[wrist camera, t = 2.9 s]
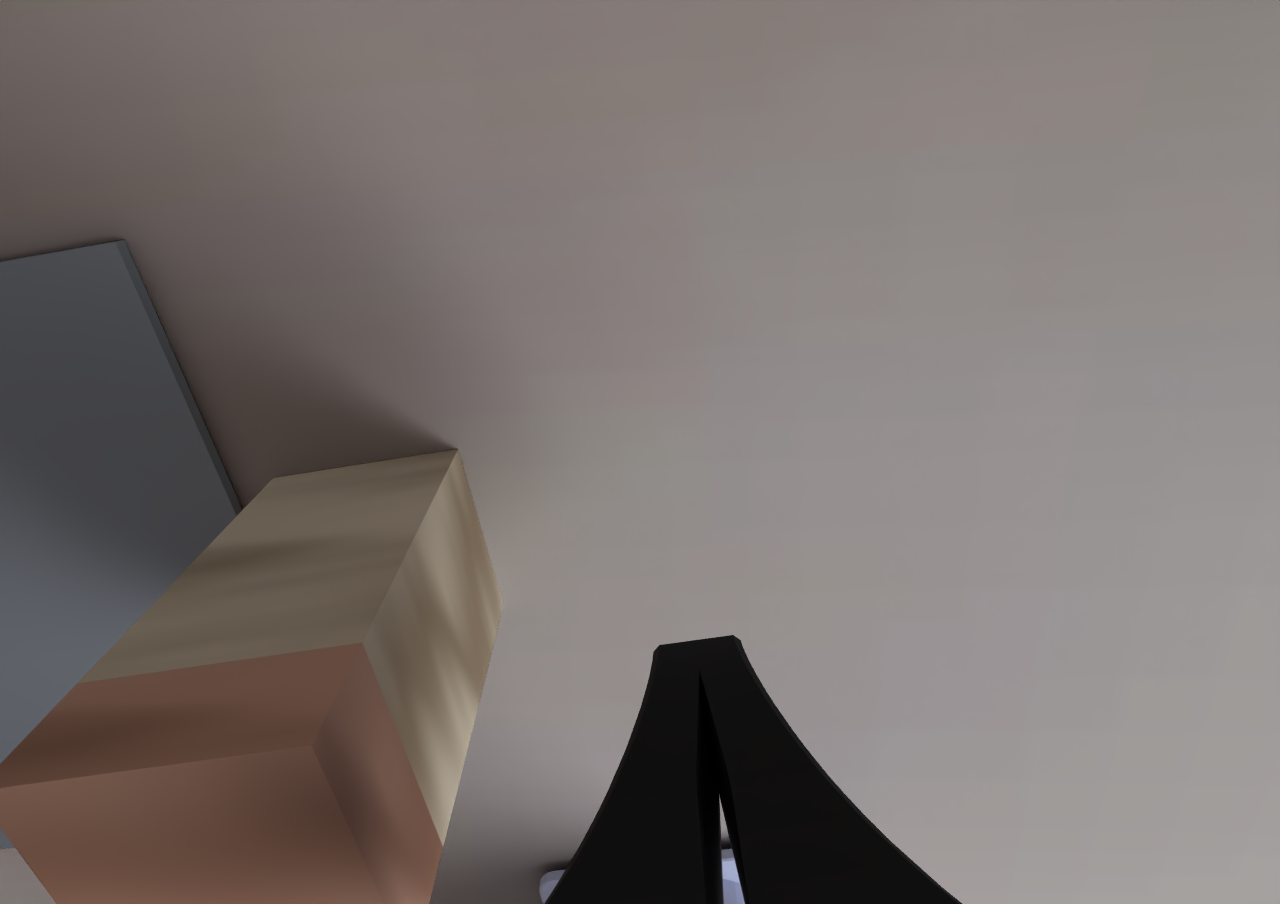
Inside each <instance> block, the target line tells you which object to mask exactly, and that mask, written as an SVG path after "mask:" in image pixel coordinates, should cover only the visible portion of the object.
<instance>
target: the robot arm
mask: <svg viewBox="0 0 1280 904" xmlns="http://www.w3.org/2000/svg"><path fill="white" fill-rule="evenodd" d="M719 795H720V800H721V804H722V808H723V812H724V817H725V821H726V825H727V830H728V834H729V838H730V842H731V847H732V849H724V850H722V849H721V826H720V803H719ZM539 893H540V896H541V899H542V902H543V904H962V903H961V902H959V901H958V900H957V899H956V898H955V897H953V896H952V895H951V894H950V893H948V892H947V891H946V890H945V889H943V888H942V887H941V886H940V885H939V884H938V883H937V882H935V881H934V880H933V879H932V878H931V877H930V876H929V875H928V874H927V873H925V872H924V871H923V870H922V869H921V868H920V867H919V866H918V865H916V864H915V863H914V862H913V861H912V860H911V859H910V858H909V857H908V856H906V855H905V854H904V853H903V852H902V851H901V850H900V849H899V848H898V847H896V846H895V845H894V844H893V843H892V842H891V841H890V840H889V839H888V838H887V837H886V836H885V835H884V834H883V833H882V832H881V831H880V830H879V829H878V828H877V827H876V826H875V825H874V824H873V823H872V822H871V821H870V820H869V819H868V818H867V817H866V816H865V815H864V814H863V813H862V812H861V811H860V810H859V809H858V808H857V807H856V806H855V805H854V804H853V802H852V801H851V800H850V799H849V798H848V797H847V796H846V795H845V794H844V793H843V792H842V791H841V789H840V788H839V787H838V786H837V785H836V784H835V783H834V781H833V780H832V779H831V778H830V777H829V776H828V774H827V773H826V772H825V771H824V770H823V769H822V767H821V766H820V765H819V764H818V762H817V761H816V760H815V759H814V757H813V756H812V755H811V754H810V752H809V751H808V750H807V749H806V747H805V746H804V745H803V743H802V742H801V741H800V739H799V738H798V737H797V735H796V734H795V733H794V731H793V730H792V729H791V727H790V726H789V724H788V723H787V721H786V720H785V719H784V717H783V716H782V714H781V713H780V711H779V710H778V708H777V707H776V706H775V704H774V703H773V701H772V700H771V698H770V696H769V695H768V693H767V692H766V690H765V688H764V687H763V685H762V683H761V682H760V680H759V678H758V677H757V675H756V673H755V671H754V669H753V668H752V666H751V664H750V662H749V660H748V658H747V655H746V653H745V651H744V649H743V646H742V643H741V640H739V639H738V638H737V637H735V636H734V635H730V636H723V637H716V638H708V639H701V640H694V641H687V642H679V643H672V644H665V645H659V646H658V647H657V649H656V650H655V651H654V653H653V661H652V666H651V671H650V676H649V680H648V684H647V688H646V691H645V695H644V698H643V702H642V705H641V708H640V711H639V714H638V717H637V720H636V723H635V725H634V728H633V731H632V734H631V737H630V740H629V742H628V745H627V748H626V750H625V753H624V755H623V757H622V760H621V762H620V764H619V767H618V769H617V771H616V774H615V776H614V778H613V781H612V783H611V785H610V788H609V790H608V792H607V794H606V796H605V798H604V800H603V802H602V804H601V806H600V809H599V811H598V813H597V814H596V816H595V818H594V820H593V822H592V824H591V826H590V828H589V830H588V832H587V833H586V835H585V837H584V839H583V841H582V843H581V844H580V846H579V848H578V850H577V851H576V853H575V855H574V856H573V858H572V860H571V861H570V863H569V865H568V866H567V868H566V869H565V870H557V871H551V872H548V873H546V874H545V875H543V876H542V878H541V880H540V888H539Z"/></svg>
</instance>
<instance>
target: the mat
mask: <svg viewBox="0 0 1280 904" xmlns="http://www.w3.org/2000/svg"><path fill="white" fill-rule="evenodd" d="M241 511H242V508H241V506H240V503H239V501H238V499H237V496H236V494H235V492H234V490H233V487H232V485H231V483H230V480H229V478H228V476H227V474H226V471H225V469H224V467H223V464H222V462H221V460H220V458H219V455H218V453H217V451H216V448H215V446H214V444H213V442H212V439H211V437H210V435H209V432H208V430H207V428H206V426H205V423H204V421H203V419H202V416H201V414H200V412H199V410H198V407H197V405H196V403H195V400H194V398H193V396H192V394H191V391H190V389H189V387H188V385H187V382H186V380H185V378H184V375H183V373H182V371H181V369H180V366H179V364H178V362H177V359H176V357H175V355H174V353H173V350H172V348H171V346H170V343H169V341H168V339H167V337H166V334H165V332H164V330H163V327H162V325H161V323H160V321H159V318H158V316H157V314H156V311H155V309H154V307H153V305H152V302H151V300H150V298H149V295H148V293H147V291H146V289H145V286H144V284H143V282H142V279H141V277H140V275H139V273H138V270H137V268H136V266H135V263H134V261H133V259H132V257H131V254H130V252H129V250H128V248H127V245H126V243H125V241H124V240H119V241H114V242H108V243H102V244H97V245H91V246H85V247H80V248H74V249H68V250H63V251H57V252H51V253H46V254H40V255H34V256H29V257H23V258H17V259H12V260H6V261H0V764H1V763H2V762H3V761H4V759H5V758H6V757H7V756H8V755H9V754H10V753H11V752H12V751H13V750H14V749H15V748H16V747H17V746H18V745H19V744H20V743H21V742H22V741H23V740H24V739H25V737H26V736H27V735H28V734H29V733H30V732H31V731H32V730H33V729H34V728H35V727H36V726H37V725H38V724H39V723H40V722H41V721H42V720H43V719H44V718H45V717H46V715H47V714H48V713H49V712H50V711H51V710H52V709H53V708H54V707H55V706H56V705H57V704H58V703H59V702H60V701H61V700H62V699H63V698H64V697H65V696H66V695H67V693H68V692H69V691H70V690H71V689H72V688H73V687H74V686H75V685H76V684H77V683H78V682H79V681H80V680H81V679H82V678H83V677H84V676H85V675H86V674H87V672H88V671H89V670H90V669H91V668H92V667H93V666H94V665H95V664H96V663H97V662H98V661H99V660H100V659H101V658H102V657H103V656H104V655H105V654H106V653H107V652H108V650H109V649H110V648H111V647H112V646H113V645H114V644H115V643H116V642H117V641H118V640H119V639H120V638H121V637H122V636H123V635H124V634H125V633H126V632H127V631H128V630H129V628H130V627H131V626H132V625H133V624H134V623H135V622H136V621H137V620H138V619H139V618H140V617H141V616H142V615H143V614H144V613H145V612H146V611H147V610H148V609H149V608H150V606H151V605H152V604H153V603H154V602H155V601H156V600H157V599H158V598H159V597H160V596H161V595H162V594H163V593H164V592H165V591H166V590H167V589H168V588H169V587H170V586H171V584H172V583H173V582H174V581H175V580H176V579H177V578H178V577H179V576H180V575H181V574H182V573H183V572H184V571H185V570H186V569H187V568H188V567H189V566H190V565H191V564H192V562H193V561H194V560H195V559H196V558H197V557H198V556H199V555H200V554H201V553H202V552H203V551H204V550H205V549H206V548H207V547H208V546H209V545H210V544H211V543H212V542H213V540H214V539H215V538H216V537H217V536H218V535H219V534H220V533H221V532H222V531H223V530H224V529H225V528H226V527H227V526H228V525H229V524H230V523H231V522H232V521H233V519H234V518H235V517H236V516H237V515H238V514H239V513H240V512H241ZM13 847H14V845H13V844H12V843H11V841H10V840H9V838H8V837H7V836H6V834H5V833H4V832H3V830H2V829H1V828H0V849H5V848H13Z"/></svg>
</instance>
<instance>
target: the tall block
mask: <svg viewBox="0 0 1280 904" xmlns="http://www.w3.org/2000/svg"><path fill="white" fill-rule="evenodd" d="M502 610H503V602H502V599H501V595H500V592H499V588H498V585H497V581H496V578H495V575H494V571H493V568H492V564H491V561H490V557H489V554H488V550H487V547H486V543H485V540H484V537H483V533H482V530H481V526H480V523H479V519H478V516H477V512H476V509H475V506H474V502H473V499H472V495H471V492H470V488H469V485H468V481H467V478H466V474H465V471H464V468H463V464H462V461H461V457H460V454H459V450H458V449H455V450H449V451H443V452H436V453H430V454H423V455H417V456H411V457H404V458H398V459H391V460H385V461H379V462H372V463H366V464H360V465H353V466H347V467H340V468H334V469H328V470H321V471H315V472H308V473H302V474H296V475H289V476H283V477H277V478H273V479H272V480H271V481H270V482H269V483H268V484H267V485H266V486H265V487H264V488H263V489H262V490H261V491H260V492H259V493H258V494H257V495H256V496H255V497H254V499H253V500H252V501H251V502H250V503H249V504H248V505H247V506H246V507H245V508H244V509H243V510H242V511H241V512H240V513H239V514H238V515H237V516H236V517H235V518H234V519H233V521H232V522H231V523H230V524H229V525H228V526H227V527H226V528H225V529H224V530H223V531H222V532H221V533H220V534H219V535H218V536H217V537H216V538H215V539H214V540H213V542H212V543H211V544H210V545H209V546H208V547H207V548H206V549H205V550H204V551H203V552H202V553H201V554H200V555H199V556H198V557H197V558H196V559H195V560H194V561H193V562H192V564H191V565H190V566H189V567H188V568H187V569H186V570H185V571H184V572H183V573H182V574H181V575H180V576H179V577H178V578H177V579H176V580H175V581H174V582H173V583H172V584H171V586H170V587H169V588H168V589H167V590H166V591H165V592H164V593H163V594H162V595H161V596H160V597H159V598H158V599H157V600H156V601H155V602H154V603H153V604H152V605H151V606H150V608H149V609H148V610H147V611H146V612H145V613H144V614H143V615H142V616H141V617H140V618H139V619H138V620H137V621H136V622H135V623H134V624H133V625H132V626H131V627H130V628H129V630H128V631H127V632H126V633H125V634H124V635H123V636H122V637H121V638H120V639H119V640H118V641H117V642H116V643H115V644H114V645H113V646H112V647H111V648H110V649H109V650H108V652H107V653H106V654H105V655H104V656H103V657H102V658H101V659H100V660H99V661H98V662H97V663H96V664H95V665H94V666H93V667H92V668H91V669H90V670H89V671H88V672H87V674H86V675H85V676H84V677H83V678H82V679H81V680H80V681H79V682H78V683H77V684H76V685H75V686H74V687H73V688H72V689H71V690H70V691H69V692H68V693H67V695H66V696H65V697H64V698H63V699H62V700H61V701H60V702H59V703H58V704H57V705H56V706H55V707H54V708H53V709H52V710H51V711H50V712H49V713H48V714H47V715H46V717H45V718H44V719H43V720H42V721H41V722H40V723H39V724H38V725H37V726H36V727H35V728H34V729H33V730H32V731H31V732H30V733H29V734H28V735H27V736H26V737H25V739H24V740H23V741H22V742H21V743H20V744H19V745H18V746H17V747H16V748H15V749H14V750H13V751H12V752H11V753H10V754H9V755H8V756H7V757H6V758H5V759H4V761H3V762H2V763H1V764H0V828H1V829H2V830H3V832H4V833H5V834H6V836H7V837H8V838H9V840H10V841H11V843H12V844H13V845H14V847H15V848H16V849H17V851H18V852H19V853H20V855H21V856H22V857H23V859H24V860H25V861H26V863H27V864H28V866H29V867H30V868H31V870H32V871H33V872H34V874H35V875H36V876H37V878H38V879H39V880H40V882H41V883H42V884H43V886H44V887H45V889H46V890H47V891H48V893H49V894H50V895H51V897H52V898H53V899H54V901H55V902H56V903H57V904H429V903H430V899H431V895H432V891H433V887H434V883H435V879H436V875H437V871H438V867H439V863H440V859H441V855H442V851H443V847H444V843H445V839H446V835H447V831H448V826H449V822H450V818H451V814H452V810H453V806H454V802H455V798H456V794H457V790H458V786H459V782H460V778H461V774H462V770H463V766H464V762H465V758H466V754H467V750H468V746H469V742H470V738H471V734H472V730H473V726H474V722H475V718H476V714H477V710H478V706H479V702H480V698H481V694H482V690H483V686H484V682H485V678H486V674H487V670H488V666H489V662H490V658H491V654H492V650H493V646H494V642H495V638H496V634H497V630H498V626H499V622H500V618H501V614H502Z"/></svg>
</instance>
